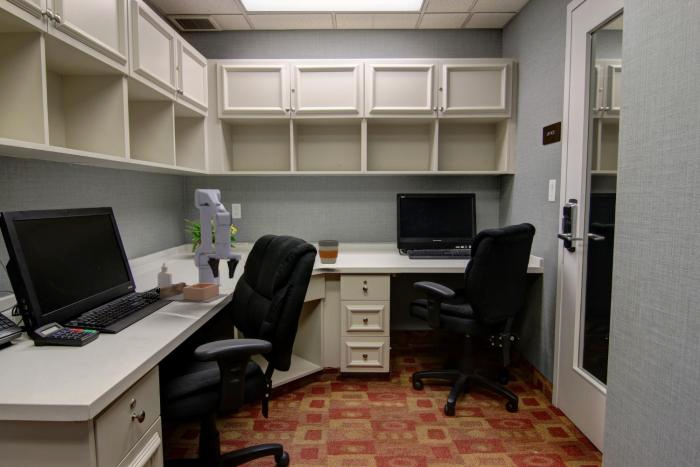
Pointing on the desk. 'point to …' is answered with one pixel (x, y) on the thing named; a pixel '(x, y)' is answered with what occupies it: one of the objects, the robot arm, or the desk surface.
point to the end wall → (172, 290)
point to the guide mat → (180, 298)
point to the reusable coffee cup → (328, 251)
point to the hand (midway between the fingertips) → (223, 277)
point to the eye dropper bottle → (164, 277)
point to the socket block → (200, 291)
